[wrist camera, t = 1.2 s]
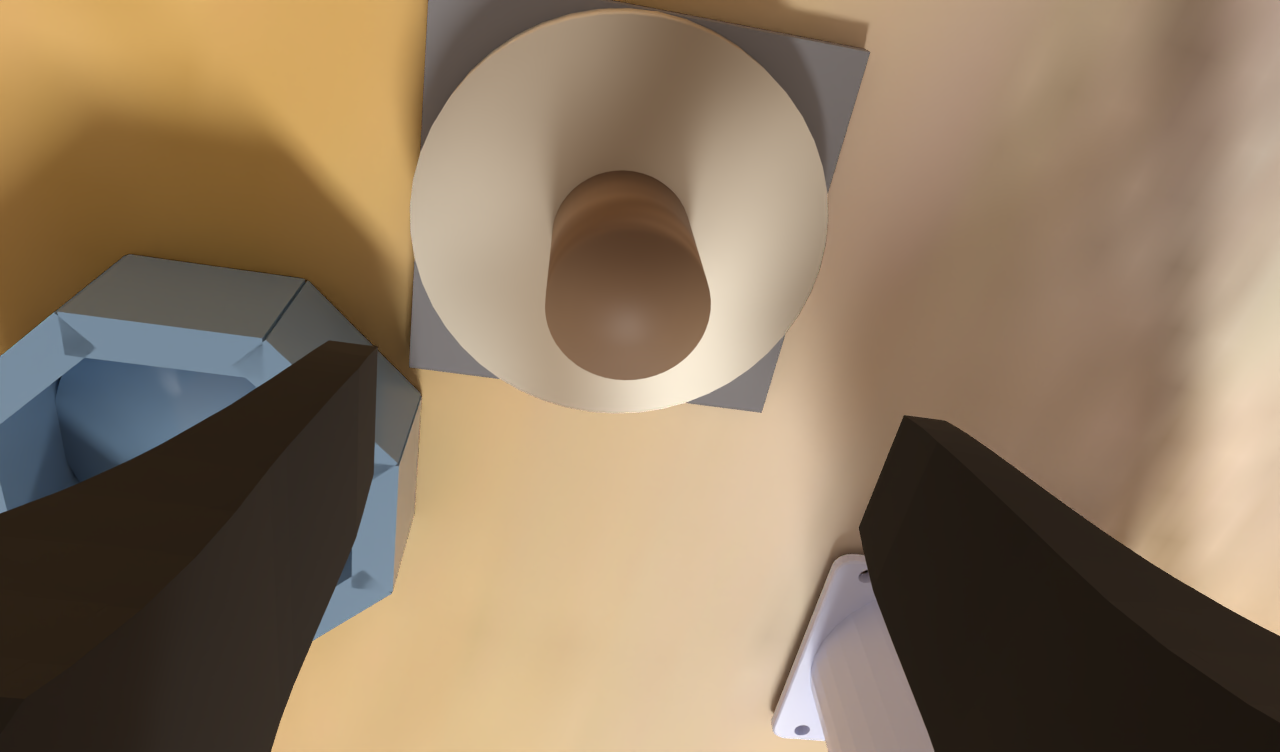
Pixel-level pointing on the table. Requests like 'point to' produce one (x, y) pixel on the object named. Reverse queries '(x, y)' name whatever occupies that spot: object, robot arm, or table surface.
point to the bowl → (191, 391)
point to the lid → (618, 211)
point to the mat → (511, 3)
